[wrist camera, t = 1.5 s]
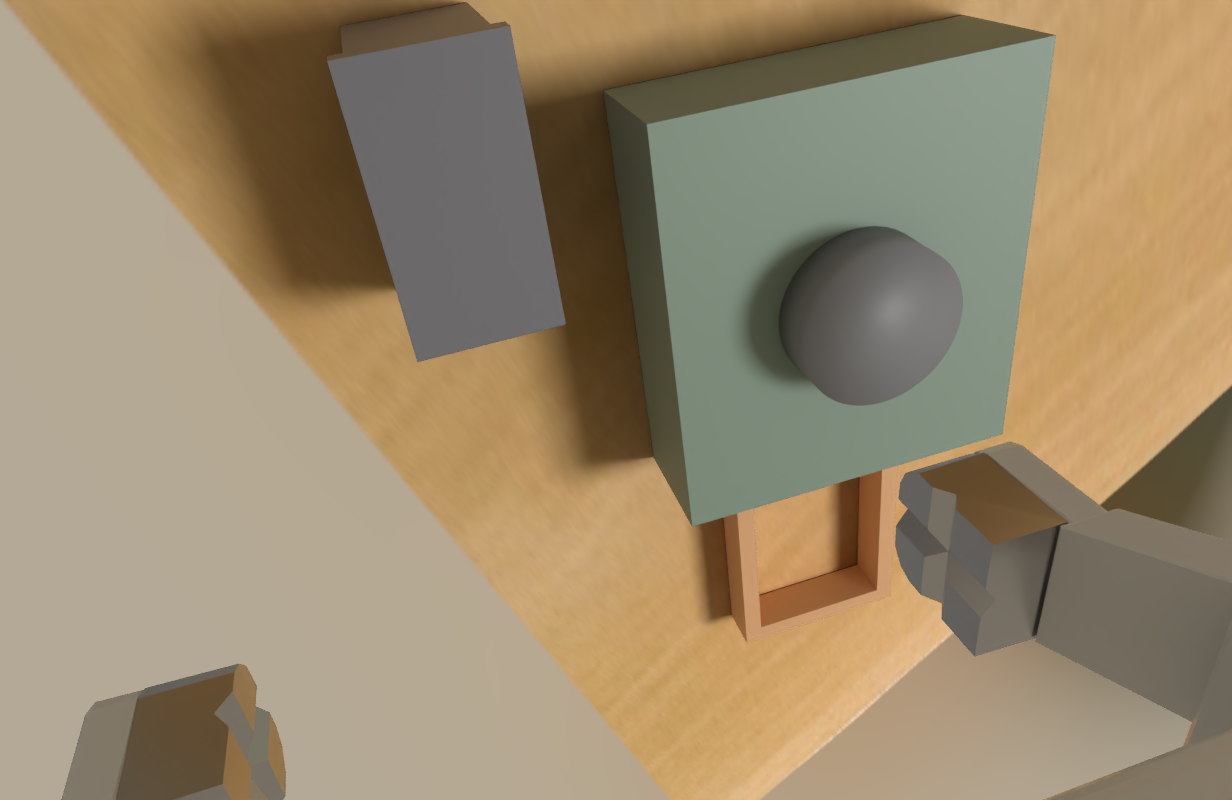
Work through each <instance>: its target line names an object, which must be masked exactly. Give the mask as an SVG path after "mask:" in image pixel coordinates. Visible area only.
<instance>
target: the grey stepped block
mask: <svg viewBox="0 0 1232 800" xmlns="http://www.w3.org/2000/svg"><path fill="white" fill-rule="evenodd" d="M340 30H341V43H342V53H339V54H334V55H329V56H327V63H328V66H329V70H330V73H331V76H332V80H333V83H334V86H335V90H336V93H337V96H338V100H339V103H340V106H341V110H342V113H343V116H344V119H345V123H346V126H347V129H348V133H349V136H350V139H351V143H352V146H353V149H354V153H355V156H356V159H357V163H358V166H359V169H360V173H361V176H362V179H363V183H364V186H365V189H366V193H367V196H368V199H369V202H370V206H371V209H372V212H373V216H374V219H375V222H376V226H377V229H378V232H379V236H380V239H381V242H382V246H383V249H384V252H385V256H386V259H387V262H388V266H389V269H390V272H391V276H392V279H393V282H394V286H395V289H396V292H397V295H398V299H399V302H400V305H401V309H402V312H403V315H404V319H405V322H406V325H407V329H408V332H409V335H410V339H411V342H412V345H413V349H414V352H415V355H416V359H417V362H420V361H424V360H428V359H432V358H436V357H439V356H443V355H447V354H451V353H455V352H459V351H463V350H467V349H471V348H475V347H479V346H483V345H487V344H491V343H495V342H499V341H503V340H507V339H511V338H515V337H518V336H522V335H526V334H530V333H534V332H538V331H542V330H546V329H550V328H554V327H558V326H562V325H566V322H565V317H564V312H563V306H562V301H561V296H560V290H559V285H558V279H557V274H556V269H555V263H554V258H553V253H552V247H551V242H550V237H549V231H548V226H547V221H546V215H545V210H544V205H543V199H542V194H541V189H540V183H539V178H538V173H537V167H536V162H535V157H534V151H533V146H532V141H531V135H530V130H529V125H528V119H527V114H526V109H525V103H524V98H523V93H522V87H521V82H520V76H519V71H518V66H517V60H516V55H515V50H514V44H513V39H512V34H511V28H510V25H509V24H507V23H506V22H500V23H495V24H490V23H489V22H488V21H486V20H485V19H484V18H483V17H482V16H481V15H480V14H479V13H478V12H477V11H476V10H474V9H473V8H472V7H471V6H470V5H469V4H468V3H461V4H456V5H451V6H445V7H440V8H435V9H429V10H424V11H419V12H413V13H408V14H403V15H398V16H392V17H387V18H382V19H376V20H371V21H366V22H360V23H355V24H350V25H344V26H340Z"/></svg>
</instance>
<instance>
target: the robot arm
mask: <svg viewBox="0 0 1232 800" xmlns="http://www.w3.org/2000/svg"><path fill="white" fill-rule="evenodd" d="M899 500H900V501H901V502H902V503H903V504H904V505H905V506H906V507H907V508H908V510H907V511H906V512H905V514H904V515H903V517H902V518H901V520H900V521H899V522H898V524H897V525H896V541H895V547H896V550H897V554H898V557H899V561H900V565H901V567H902V569H903V571H904V572H905V574H906V576H907V578H908V580H909V581H910V582H911V584H912V585H913V586H914V587H915V588H916V590H917V591H918V592H919V593H920V594H921V595H923V596H926V597H928V598H930V599H933V600H935V601H938V602H940V603H942V620H943V621H944V622H945V623H946V624H947V626H948V627H949V628H950V629H951V630H952V631H953V632H954V634H955V635H956V636H957V637H958V638H959V639H960V640H961V642H962V643H963V644H964V645H965V646H966V647H967V648H968V649H969V651H971V653H972V654H973V655H974V656H978V655H981V654H984V653H988V652H991V651H994V650H997V649H1001V648H1004V647H1007V646H1011V645H1014V644H1017V643H1020V642H1024V641H1027V640H1030V639H1033V638H1036V642H1038V643H1039V644H1041V645H1044V646H1045V647H1047V648H1049V649H1051V650H1053V651H1055V652H1057V653H1059V654H1061V655H1063V656H1065V657H1067V658H1069V659H1071V660H1073V661H1075V662H1076V663H1079V664H1080V665H1083V666H1084V667H1086V668H1088V669H1090V670H1092V671H1094V672H1096V673H1098V674H1100V675H1102V676H1104V677H1106V678H1108V679H1110V680H1111V681H1113V682H1116V683H1117V684H1119V685H1121V686H1123V687H1125V688H1127V689H1129V690H1131V691H1133V692H1135V693H1137V694H1139V695H1141V696H1143V697H1145V698H1147V699H1149V700H1151V701H1152V702H1154V703H1156V704H1158V705H1160V706H1162V707H1164V708H1166V709H1168V710H1170V711H1172V712H1174V713H1176V714H1178V715H1180V716H1182V717H1183V718H1186V719H1187V720H1189V721H1191V722H1192V724H1191V727H1190V730H1189V733H1188V735H1187V738H1186V740H1185V743H1184V746H1183V747H1181V748H1178V749H1176V750H1173V751H1170V752H1168V753H1165V754H1162V755H1160V756H1157V757H1155V758H1152V759H1149V760H1147V761H1144V762H1141V763H1139V764H1136V765H1134V766H1131V767H1128V768H1126V769H1123V770H1120V771H1118V772H1115V773H1113V774H1110V775H1107V776H1105V777H1102V778H1099V779H1097V780H1094V781H1091V782H1089V783H1086V784H1084V785H1081V786H1078V787H1076V788H1073V789H1070V790H1068V791H1065V792H1062V793H1060V794H1057V795H1055V796H1052V797H1049V798H1047V799H1044V800H1232V542H1231V541H1228V540H1225V539H1221V538H1218V537H1214V536H1211V535H1207V534H1204V533H1200V532H1197V531H1193V530H1190V529H1187V528H1183V527H1180V526H1176V525H1173V524H1169V523H1166V522H1163V521H1159V520H1156V519H1152V518H1149V517H1145V516H1142V515H1139V514H1135V513H1132V512H1128V511H1124V510H1121V509H1115V510H1111V511H1108V512H1107V511H1106V510H1105V509H1104V508H1102V507H1101V506H1100V505H1098V504H1097V503H1096V502H1094V501H1093V500H1092V499H1091V498H1089V497H1088V496H1087V495H1085V494H1084V493H1083V492H1082V491H1080V490H1079V489H1078V488H1076V487H1075V486H1074V485H1073V484H1071V483H1070V482H1069V481H1067V480H1066V479H1065V478H1063V477H1062V476H1061V475H1060V474H1058V473H1057V472H1056V471H1054V470H1053V469H1052V468H1051V467H1049V466H1048V465H1047V464H1045V463H1044V462H1043V461H1042V460H1040V459H1039V458H1038V457H1036V456H1035V455H1034V454H1032V453H1031V452H1030V451H1029V450H1027V449H1026V448H1025V447H1023V446H1022V445H1020V444H1017V443H1013V442H1007V443H1003V444H1000V445H997V446H994V447H990V448H987V449H984V450H980V451H977V452H975V453H974V454H968V455H965V456H962V457H958V458H955V459H951V460H948V461H945V462H941V463H938V464H935V465H931V466H928V467H924V468H921V469H918V470H914V471H911V472H907V473H905V475H904V477H903V479H902V481H901V482H900V490H899ZM256 690H257V686H256V683H255V682H254V680H253V678H252V676H251V674H250V672H249V670H248V668H247V667H246V666H245V665H242V664H236V665H232V666H229V667H225V668H221V669H217V670H213V671H210V672H205V673H202V674H198V675H195V676H190V677H186V678H183V679H179V680H175V681H171V682H168V683H164V684H160V685H156V686H152V687H148V688H145V689H144V690H142V691H138V692H134V693H130V694H126V695H122V696H118V697H114V698H110V699H106V700H103V701H99V702H95V703H94V705H93V706H92V707H91V708H90V710H89V711H88V712H87V714H86V715H85V718H84V722H83V725H82V728H81V732H80V736H79V739H78V743H77V747H76V750H75V754H74V757H73V761H72V764H71V768H70V771H69V775H68V778H67V782H66V786H65V789H64V793H63V796H62V800H283V799H284V797H285V789H286V783H285V782H286V771H285V764H284V757H283V749H282V744H281V741H280V738H279V734H278V731H277V728H276V725H275V723H274V721H273V719H272V717H271V715H270V713H269V712H267V711H265V710H263V709H261V708H258V707H256V705H255V704H256Z"/></svg>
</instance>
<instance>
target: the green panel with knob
mask: <svg viewBox="0 0 1232 800" xmlns="http://www.w3.org/2000/svg"><path fill="white" fill-rule="evenodd" d="M1055 39H1056V35H1053V34H1048V33H1043V32H1039V31H1034V30H1030V29H1025V28H1021V27H1016V26H1011V25H1007V24H1002V23H998V22H993V21H988V20H984V19H979V18H975V17H970V16H965V15H961V16H956V17H952V18H947V19H942V20H937V21H932V22H928V23H923V24H918V25H913V26H909V27H904V28H899V29H894V30H889V31H885V32H880V33H875V34H870V35H866V36H861V37H856V38H851V39H846V40H842V41H837V42H832V43H827V44H823V45H818V46H813V47H808V48H803V49H799V50H794V51H789V52H784V53H780V54H775V55H770V56H765V57H761V58H756V59H751V60H746V61H741V62H737V63H732V64H727V65H722V66H718V67H713V68H708V69H703V70H698V71H694V72H689V73H684V74H679V75H675V76H670V77H665V78H660V79H655V80H651V81H646V82H641V83H636V84H632V85H627V86H622V87H617V88H612V89H608V90H603V92H604V99H605V107H606V114H607V121H608V128H609V136H610V143H611V150H612V157H613V165H614V172H615V179H616V187H617V194H618V201H619V208H620V216H621V223H622V230H623V237H624V245H625V252H626V259H627V267H628V274H629V281H630V288H631V296H632V303H633V310H634V317H635V325H636V332H637V339H638V347H639V354H640V361H641V368H642V376H643V383H644V390H645V397H646V405H647V412H648V419H649V427H650V434H651V441H652V448H653V456H654V459H655V461H656V462H657V464H658V466H659V468H660V470H661V471H662V473H663V475H664V477H665V479H666V480H667V482H668V484H669V486H670V487H671V489H672V491H673V493H674V495H675V496H676V498H677V500H678V502H679V504H680V505H681V507H682V509H683V511H684V513H685V514H686V516H687V518H688V520H689V521H690V523H691V525H692V527H693V526H696V525H700V524H703V523H706V522H710V521H713V520H716V519H720V518H724V530H725V541H726V553H727V564H728V576H729V587H730V599H731V611H732V616H733V618H734V620H735V622H736V624H737V626H738V627H739V629H740V631H741V633H742V635H743V637H744V638H745V640H746V642H747V643H749V642H752V641H755V640H758V639H762V638H765V637H768V636H771V635H774V634H777V633H780V632H783V631H786V630H789V629H792V628H795V627H798V626H802V625H805V624H808V623H811V622H814V621H817V620H820V619H823V618H826V617H829V616H832V615H835V614H839V613H842V612H845V611H848V610H851V609H854V608H857V607H860V606H863V605H866V604H869V603H872V602H876V601H879V600H882V599H885V598H888V597H891V580H892V561H893V543H894V525H895V506H896V488H897V470H898V465H901V464H904V463H907V462H911V461H914V460H918V459H921V458H924V457H928V456H931V455H934V454H938V453H941V452H944V451H948V450H951V449H954V448H958V447H961V446H964V445H968V444H971V443H974V442H978V441H981V440H985V439H988V438H991V437H995V436H998V435H1001V434H1003V427H1004V419H1005V412H1006V404H1007V397H1008V389H1009V382H1010V375H1011V367H1012V360H1013V352H1014V345H1015V337H1016V330H1017V322H1018V315H1019V308H1020V300H1021V293H1022V285H1023V278H1024V270H1025V263H1026V255H1027V248H1028V241H1029V233H1030V226H1031V218H1032V211H1033V203H1034V196H1035V188H1036V181H1037V173H1038V166H1039V159H1040V151H1041V144H1042V136H1043V129H1044V121H1045V114H1046V106H1047V99H1048V92H1049V84H1050V77H1051V69H1052V62H1053V54H1054V47H1055ZM857 477H860V483H859V523H858V564H857V565H855V566H852V567H848V568H845V569H842V570H839V571H836V572H833V573H829V574H826V575H823V576H820V577H817V578H814V579H810V580H807V581H804V582H801V583H798V584H795V585H791V586H788V587H785V588H782V589H779V590H776V591H772V592H769V593H766V594H763V595H760V596H759V584H758V568H757V552H756V535H755V519H754V508H757V507H760V506H763V505H767V504H770V503H773V502H777V501H780V500H783V499H787V498H790V497H794V496H797V495H800V494H804V493H807V492H810V491H814V490H817V489H820V488H824V487H827V486H830V485H834V484H837V483H840V482H844V481H847V480H850V479H854V478H857Z"/></svg>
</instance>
